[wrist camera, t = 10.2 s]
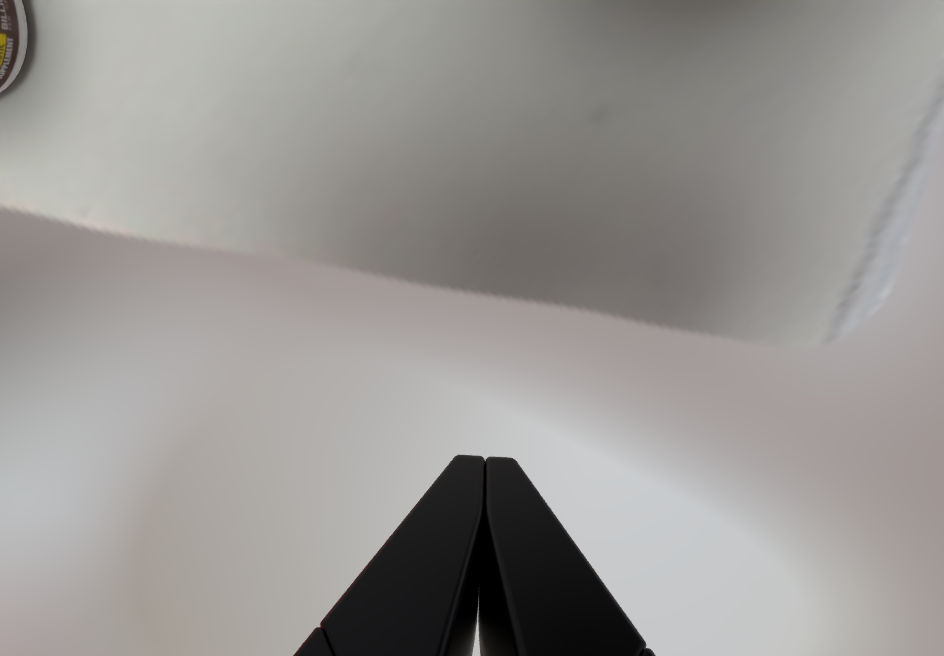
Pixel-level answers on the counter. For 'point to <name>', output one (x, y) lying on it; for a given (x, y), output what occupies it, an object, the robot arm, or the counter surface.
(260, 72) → the counter surface
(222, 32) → the counter surface
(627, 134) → the counter surface
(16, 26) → the supplement bottle
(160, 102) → the counter surface
